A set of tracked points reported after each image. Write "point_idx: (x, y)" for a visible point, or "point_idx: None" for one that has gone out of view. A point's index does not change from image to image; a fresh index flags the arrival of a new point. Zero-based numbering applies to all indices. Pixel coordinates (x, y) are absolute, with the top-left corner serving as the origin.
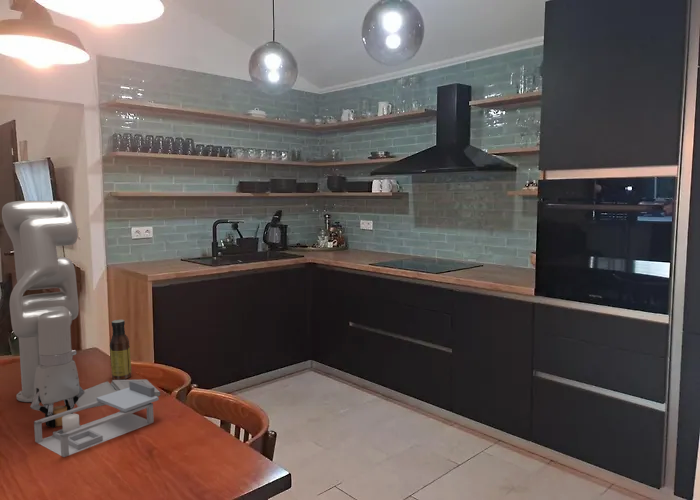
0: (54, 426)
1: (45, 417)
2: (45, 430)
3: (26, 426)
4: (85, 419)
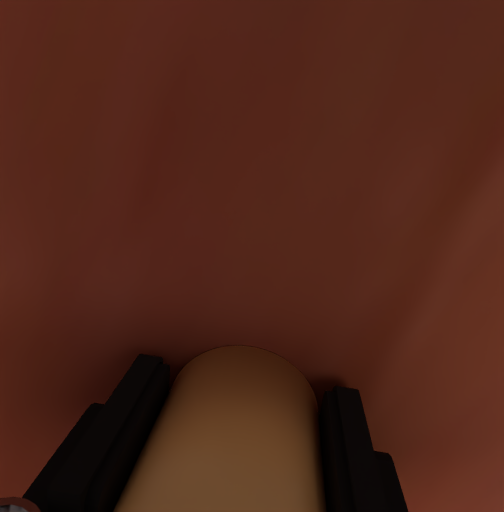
0: None
1: (39, 478)
2: (109, 372)
3: (33, 78)
4: (482, 493)
